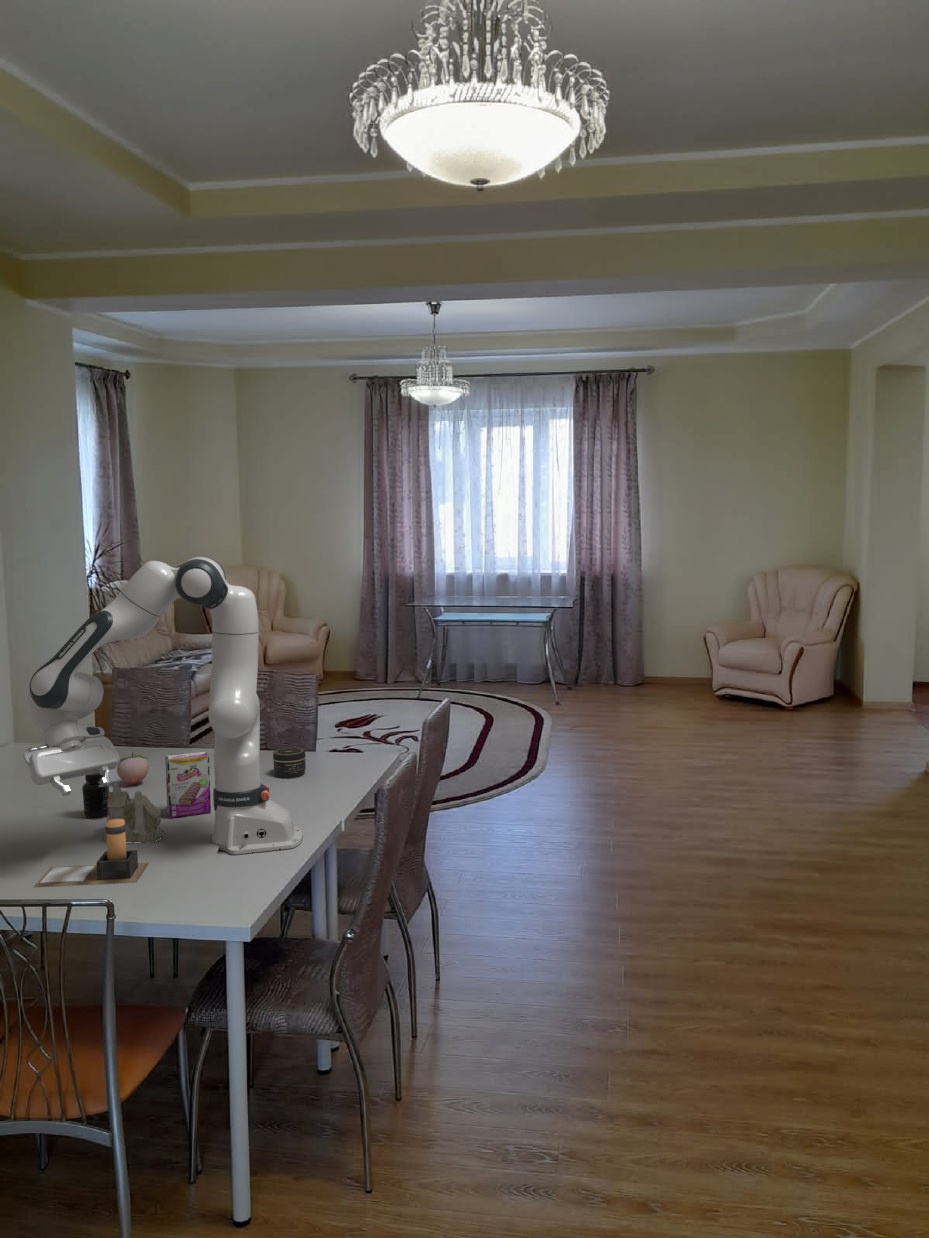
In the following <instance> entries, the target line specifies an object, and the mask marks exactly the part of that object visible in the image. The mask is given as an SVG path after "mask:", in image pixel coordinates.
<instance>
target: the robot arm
mask: <svg viewBox="0 0 929 1238" xmlns="http://www.w3.org/2000/svg"><path fill="white" fill-rule="evenodd" d="M226 578H227V577H226V572H225V570H224V568H223V566H222V565H221V564H220V563H219V562H218V561H217V560H215V559H213V558H211V557H207V556H204V557H203V556H195V557H192V558H189V559H188V560H185V562H184V563H183V564H180V565H178V566H176V567H173V566H171V565H170V564H167V563H165V562H163V561H159V560H150V561H147V562H145V563H144V564H143V565H142V566H141V567H139V569H138V570H137V571H136V572H135V573H134V574H133V575H132V576H131V577H130V579H128V581H127V582H126V584H125V585H124V586H123V587H122V588H121V590H120V592H118V594H117V596H116V597H115V598H114V599H113V600H112V601H111V602H110V603H108V605H107V606H105V607H104V608H102V609H101V610H99V611H97V612H95V613H93V614H92V615H90V616H89V618H88V619H86V620H85V621H84V623H83V624H82V625H81V626H80V627H79V628H78V629H77V630H76V631H75V633H73V634H72V636H71V637H70V638H69V639H68V640H67V641H66V642H65V644H64V645H63V646H62V647H61V648H60V649H59V650H58V651H57V652H56V654H54V655H53V656H52V657H51V658H50V659H49V660H48V661H47V662H45V663H44V664H43V665H41V666H40V667H39V668H38V669H37V670H36V671H35V672H34V673H33V674H32V677H31V679H30V681H29V691H28V693H27V695H26V696H27V698H26V701H27V707H28V710H29V714H30V716H31V719H32V721H33V723H34V726H35V727H36V728H37V729H38V731H39V733H40V739H41V742H42V743H43V745H39V746H35V747H29V748H27V750H25V751H24V752H23V759H24V762H25V763H26V765H28V769H29V774H30V778H31V781H32V783H34V784H35V785H36V786H42V785H46V784H51V786H52V787H53V788H54V789H56V790H58V791H59V792H60V793H61V796H62V797H65V796H70V794H71V793H72V792H71V788H70V786H69V784H68V785H65V784H63V783H62V782H61V781H64V780H70V779H73V778H78V777H83V776H85V775H89V774H93V773H98V772H99V773H100V775H103V778H101V780H100V781H99V783H100V784H101V787H106V786H109V787H110V779H109V778H108V776H109V772H110V770H115V769H117V766H118V763H119V762H120V761H121V760H120V758H121V757H120V755H119V753H118V751H117V749H116V747H115V745H114V743H112V741H111V740H110V739H109V738H108V737H106V736H105V730H104V728H102V727H99V726H90V725H84V724H80V723H79V720H82V719H83V718H85V717H87V716H89V715H90V714H92V713H94V712H95V711H96V710H97V709H98V708H100V706H101V705H102V704H103V701H104V698H105V687H104V684H103V682H102V680H101V679H100V678H99V677H98V676H95V675H92V674H89V673H86V672H82V671H78V670H79V669H80V668H81V667H82V666H83V665H84V664H85V662H86V661H87V660H88V659H89V658H90V657H91V656H92V655H93V654H94V652H95V651H96V650H97V649H99V648H100V647H102V646H104V645H106V644H109V643H112V642H117V641H127V640H137V639H140V638H143V637H144V636H146V635H147V634H149V632H150V631H152V630H153V629H154V628H155V627H156V625H157V624H158V622H159V621H160V619H161V618H162V616H163V615H164V613H165V612H166V611H167V609H168V608H169V607H170V605H171V604H172V603H173V602H174V601H175V600H177V599H181V598H182V600H183V601H185V602H187V603H189V604H191V605H195V606H198V607H202V608H205V609H207V610H210V612H211V619H212V625H211V626H212V627H211V671H210V685H209V696H208V697H209V698H208V699H209V700H208V721H209V722H208V723H209V724H210V727H211V729H212V730H213V732H214V746H213V747H214V749H213V751H214V752H213V769H214V770H213V771H214V788H213V792H212V801H213V802H212V803H213V808H214V811H215V813H214V826H213V833H212V837H211V841H212V842H213V843H215V844H217V845H219V847H218V849H217V850H218V851H219V850H220V851H223V852H227V853H228V854H231V855H242V854H251V853H252V852H253V853H260V852H270V851H280V850H279V849H281V850H287V849H288V850H289V849H294V848H296V847H297V846H300V844H302V841H303V839H304V834H303V830H302V829H301V828H300V827H298V826H294V821H293V818H292V817H293V816H292V815H291V812H290V811H289V810H288V809H286V808H284V807H283V806H281V805H280V804H279V803H277V802H275V801H274V800H272V799H271V798H270V794H271V793H270V787H269V785H268V784H267V785H264V784H263V783H261V760H260V757H261V756H260V748H261V747H260V745H261V743H260V741H261V740H260V739H261V734H260V733H261V721H260V719H261V716H260V715H261V713H260V712H261V711H260V710H261V709H260V705H261V704H260V699H259V695H258V694H257V690H258V689H257V687H258V671H259V670H258V669H259V638H260V637H259V636H260V635H259V632H260V631H259V629H260V626H259V625H260V623H259V614H258V605H257V601H256V600H257V599H256V596H255V594H254V592H253V591H252V590H251V589H249V588H248V587H245V586H241V585H233V584H230V583H229V582H228V581H227V579H226ZM119 760H120V761H119Z"/></svg>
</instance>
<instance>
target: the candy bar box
mask: <svg viewBox="0 0 929 1238" xmlns="http://www.w3.org/2000/svg"><path fill="white" fill-rule="evenodd" d="M209 755H210V754H208V753H207V752H206V751H200V752H189V753H180V754H172V755H171V754H170V755H165V757H164V758H165V759H164V760H165V783H166V785H165V787H166V811H167V812H166V813H167V816H168V817H169V819H176V818H183V817H188V816H189V817H190V816H196V815H197V816H198V815H205V814H211V811H212V809H211V808H212V806H211V805H212V804H211V781H210V780H211V779H210V778H211V777H210V776H211V775H210V774H211V773H210V756H209Z"/></svg>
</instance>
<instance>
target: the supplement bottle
mask: <svg viewBox="0 0 929 1238" xmlns="http://www.w3.org/2000/svg"><path fill="white" fill-rule="evenodd" d="M84 776H85V778H84V779H85V783H83V784H82V787H81V790H82V801H83V814H84V817H85V819H91V820H97V819H102V818H103V819H104V818H105V817H107V816H108V817H109V814H108V813H107V812H108V797H109V794H108V792H110V785H109V786H106V787H101V784H100V783H99V781H100V780H101V778H103V775H100V773H99V772H98V773H93V774H89V775H84Z"/></svg>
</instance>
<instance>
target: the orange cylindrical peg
mask: <svg viewBox="0 0 929 1238" xmlns="http://www.w3.org/2000/svg"><path fill="white" fill-rule="evenodd" d="M106 821H107V820H106ZM106 821H105V826H106V837H107V841H106V851H107V854H108V861H116V860H127V853H126V850H127V843H126V835H125V820H124V819H112V820H108V821H107V822H106Z"/></svg>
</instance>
